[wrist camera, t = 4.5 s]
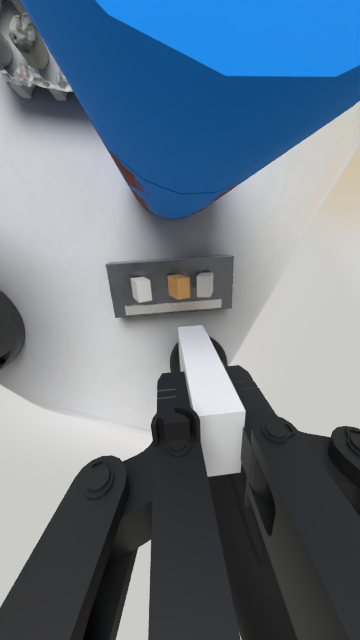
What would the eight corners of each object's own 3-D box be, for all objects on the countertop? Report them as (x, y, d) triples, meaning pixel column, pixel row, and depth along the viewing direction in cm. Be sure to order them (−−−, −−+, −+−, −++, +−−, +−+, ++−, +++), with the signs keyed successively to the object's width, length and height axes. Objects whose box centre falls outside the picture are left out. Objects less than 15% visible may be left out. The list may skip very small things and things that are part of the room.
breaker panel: (118, 311, 30) (114, 318, 28) (110, 262, 28) (105, 264, 25) (226, 303, 31) (232, 309, 29) (227, 254, 29) (234, 256, 26)
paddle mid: (168, 294, 26) (178, 299, 24) (167, 275, 25) (176, 279, 23) (180, 292, 27) (190, 297, 25) (179, 274, 26) (189, 277, 24)
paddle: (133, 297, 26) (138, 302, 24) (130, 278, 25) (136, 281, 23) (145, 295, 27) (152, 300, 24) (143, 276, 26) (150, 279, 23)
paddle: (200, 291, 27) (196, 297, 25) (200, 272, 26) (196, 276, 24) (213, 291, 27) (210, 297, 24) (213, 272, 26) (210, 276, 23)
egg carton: (109, 13, 20) (97, -40, 16) (112, 114, 22) (103, 89, 19) (-14, -10, 19) (-58, -75, 15) (5, 99, 21) (-28, 68, 17)
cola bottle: (158, 358, 34) (153, 922, 6) (190, 318, 32) (413, 891, 4) (198, 381, 36) (328, 858, 8) (230, 346, 34) (543, 819, 6)
